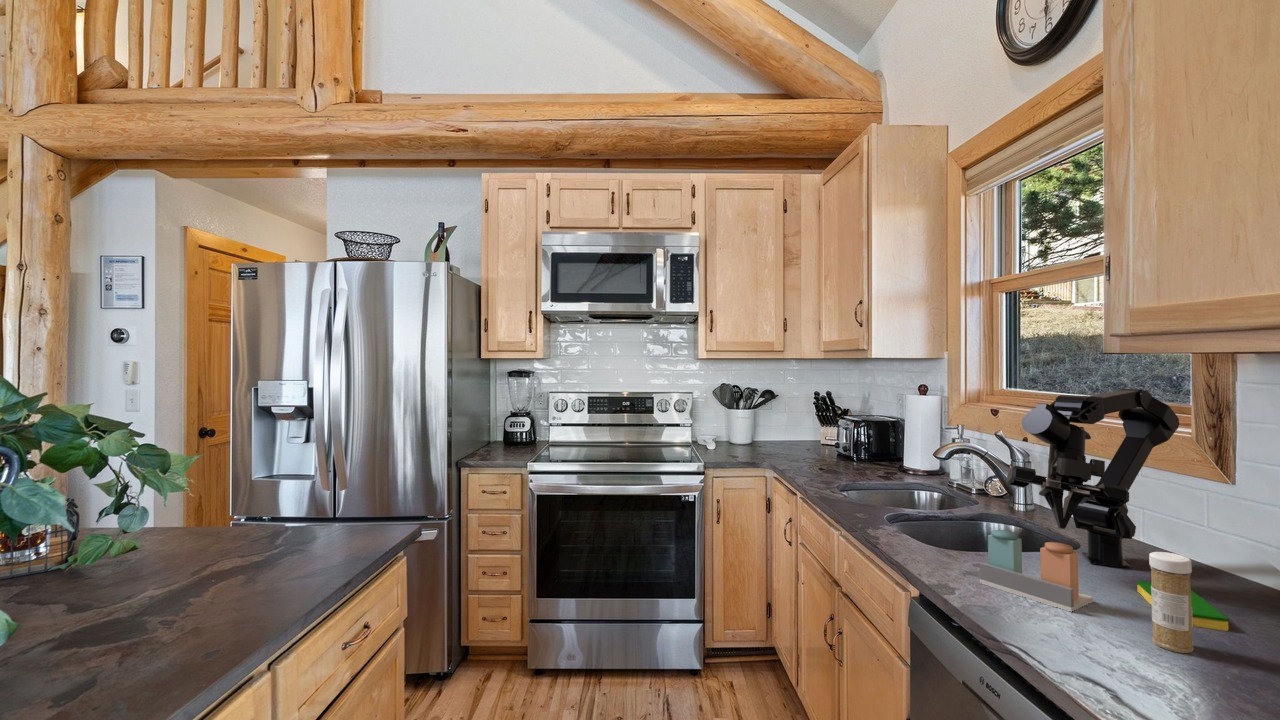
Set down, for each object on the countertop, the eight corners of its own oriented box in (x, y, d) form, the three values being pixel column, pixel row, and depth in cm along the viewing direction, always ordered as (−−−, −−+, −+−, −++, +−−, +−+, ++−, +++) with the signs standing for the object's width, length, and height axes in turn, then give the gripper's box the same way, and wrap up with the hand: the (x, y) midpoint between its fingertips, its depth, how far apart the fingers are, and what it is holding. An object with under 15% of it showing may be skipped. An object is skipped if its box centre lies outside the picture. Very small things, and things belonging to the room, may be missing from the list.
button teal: (998, 573, 109) (997, 528, 109) (1023, 580, 105) (1022, 534, 105) (987, 577, 107) (986, 531, 107) (1012, 585, 103) (1011, 537, 103)
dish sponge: (1170, 625, 90) (1169, 610, 90) (1136, 593, 102) (1136, 580, 102) (1229, 634, 87) (1229, 618, 87) (1187, 600, 99) (1187, 586, 99)
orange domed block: (1050, 588, 101) (1049, 540, 101) (1080, 597, 97) (1078, 547, 97) (1039, 593, 99) (1038, 544, 99) (1069, 602, 95) (1068, 551, 95)
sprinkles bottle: (1197, 648, 82) (1195, 556, 82) (1188, 657, 79) (1186, 563, 79) (1156, 636, 85) (1154, 548, 86) (1146, 644, 83) (1144, 554, 83)
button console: (1002, 574, 111) (1002, 555, 111) (1093, 601, 98) (1092, 580, 98) (979, 583, 107) (979, 563, 107) (1071, 612, 94) (1070, 589, 94)
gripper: (1021, 430, 110) (1014, 506, 105) (1141, 451, 102) (1140, 534, 97) (1009, 447, 120) (1002, 518, 114) (1119, 467, 111) (1116, 545, 106)
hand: (1062, 528), depth 108 cm, fingers closed
